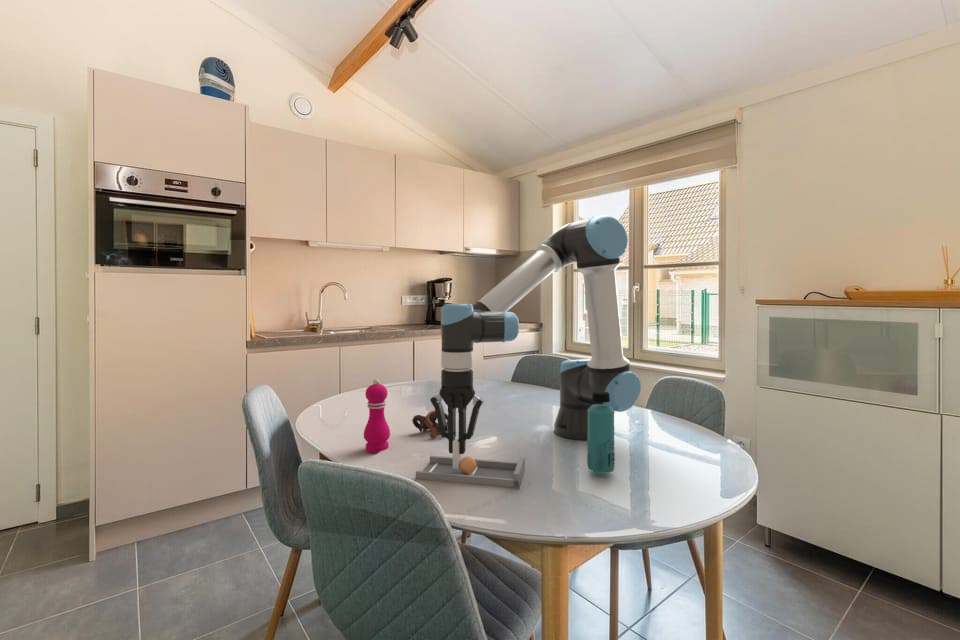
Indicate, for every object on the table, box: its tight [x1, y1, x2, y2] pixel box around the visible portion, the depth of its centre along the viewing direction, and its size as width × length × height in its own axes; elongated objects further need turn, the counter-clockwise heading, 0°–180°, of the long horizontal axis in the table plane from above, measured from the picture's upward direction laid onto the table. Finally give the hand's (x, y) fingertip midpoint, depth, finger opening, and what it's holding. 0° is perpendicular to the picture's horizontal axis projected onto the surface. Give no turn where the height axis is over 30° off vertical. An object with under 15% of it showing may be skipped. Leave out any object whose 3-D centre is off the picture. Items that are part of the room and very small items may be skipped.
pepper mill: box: [363, 378, 391, 454], centre depth 125 cm, size 7×7×20 cm
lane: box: [415, 455, 526, 491], centre depth 107 cm, size 24×11×4 cm, turn 78°
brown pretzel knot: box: [411, 410, 448, 439], centre depth 139 cm, size 12×10×8 cm
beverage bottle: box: [586, 391, 616, 474], centre depth 107 cm, size 6×7×20 cm
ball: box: [460, 456, 476, 474], centre depth 107 cm, size 4×4×4 cm
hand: (457, 466), depth 107 cm, fingers closed
